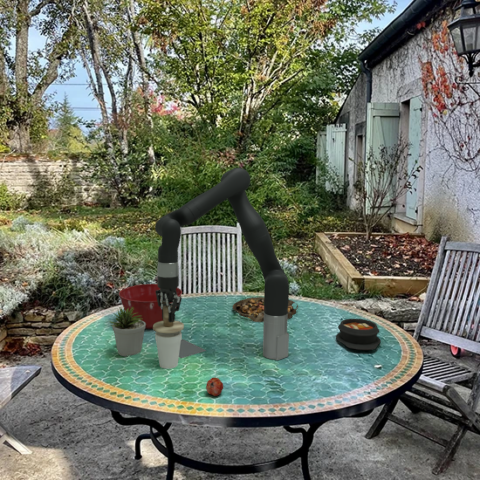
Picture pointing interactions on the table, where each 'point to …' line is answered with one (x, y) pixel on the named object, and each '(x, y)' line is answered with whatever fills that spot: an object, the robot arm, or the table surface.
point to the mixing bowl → (144, 302)
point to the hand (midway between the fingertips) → (168, 320)
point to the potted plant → (128, 333)
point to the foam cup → (168, 348)
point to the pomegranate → (214, 386)
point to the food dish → (257, 308)
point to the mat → (188, 349)
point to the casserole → (358, 334)
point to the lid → (167, 324)
